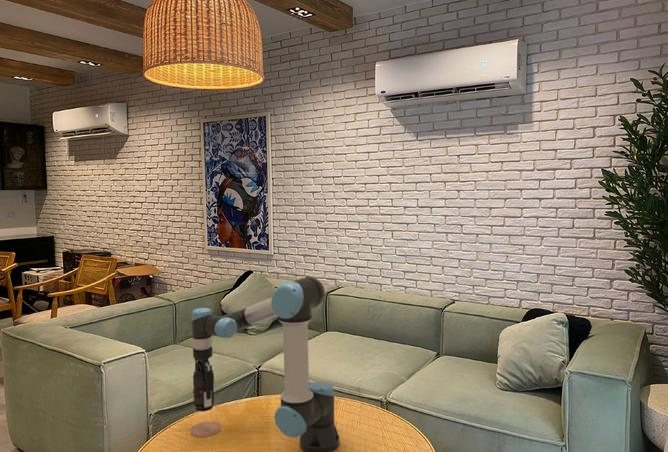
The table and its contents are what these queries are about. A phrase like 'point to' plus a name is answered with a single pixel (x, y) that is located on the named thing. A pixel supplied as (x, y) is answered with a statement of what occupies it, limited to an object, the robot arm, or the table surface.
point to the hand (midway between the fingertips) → (204, 402)
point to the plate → (205, 429)
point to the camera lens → (201, 391)
